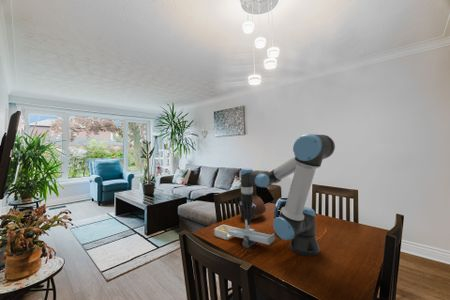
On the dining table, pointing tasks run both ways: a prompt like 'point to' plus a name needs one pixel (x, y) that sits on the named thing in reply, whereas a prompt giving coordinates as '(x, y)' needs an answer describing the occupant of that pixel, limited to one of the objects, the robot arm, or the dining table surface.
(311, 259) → the dining table surface
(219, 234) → the dish
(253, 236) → the seesaw
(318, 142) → the robot arm
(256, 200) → the vase
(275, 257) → the dining table surface
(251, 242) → the trunnion stand
